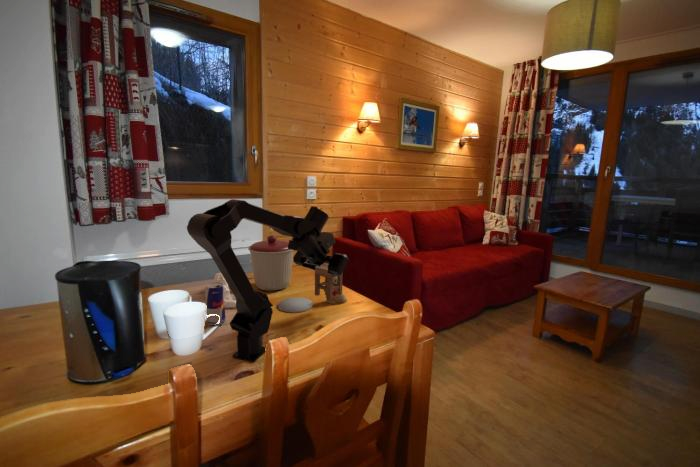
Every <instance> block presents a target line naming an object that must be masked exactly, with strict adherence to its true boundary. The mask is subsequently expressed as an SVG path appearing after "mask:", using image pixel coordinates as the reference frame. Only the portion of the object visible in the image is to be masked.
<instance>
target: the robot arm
mask: <svg viewBox="0 0 700 467" xmlns="http://www.w3.org/2000/svg"><path fill="white" fill-rule="evenodd" d="M329 219H330V217H329V215H328V213H326V212H325V211H323V210H322V209H320V208H318V206H314V205H312V206H311V207H310V208H309V210H308V212H307V214H306V215H305V217H303V216H296V215H295V216H294V215H290V214H289V215H288V214H280V213H277V212H274V211H272V210H269V209H265V208H263V207H260V206H258V205H254V204H251V203H250V202H247V201H246V200H242V199H233V198H232V199H229V200H227V201H225V202H224V203H223V204H220V205H218V206H214V207H212V208H210V209H208V210H206V211H205V212H204V211H203V213H201V212H200V213H197V214H194V215H192V216H191V217H190V219H189V220H188V223H187V225H186V230H187V233H188V234H189V236H190V237H191V238H192V240H193V241H194V242H195V243H196V244H197V245H198V246H200V247H201V248H202V249H203V250H204V251H206V252H207V253H208V254H209V255H210V256H211V258H212V260H213V261H214V263H215V265H216V266H217V269H218V270H219V272H221V274H222V275H223V277H224V279H225V280H226V282H227V284H228V287H229V290H230V292H232V294H234V296H235V297H236V308H235V309H236V313H235V314H234V316H233V318H231V321H230V322H229V326H230V328H231V330H233V331H236V333H237V335H236V341H237V343H236V345H237V346H236V348H237V350H236V352H234V353H233V354H232V358H233V359H239V360H244V361H247V362H256V361H257V360H258V359H260V357H261V356H262V355H263V354H265V353H266V351H265V347H266V346H263V345H264V344H263V336H264V335H265V334H267V333H268V331H269V330H270V324H271V321H272V317H273V316H272V315H273V314H274V313H273V312H274V311H273V308H272V307H273V305H274V304H272V303H271V302H270V299H269V297H268V294H266V293H265V292H262V291H258V290H256V289H255V288H254V287H253V285H252V283H251V281H250V279H249V278H248V276H247V273H246V272H245V270H244V267H243V266H242V264H241V263H240V261H239V259H238V257H237V255H236V253H235V252H234V249H233V247H232V240H233V239H232V237H233V235H232V233H231V232H232V231H234V230H235V229H236V228H237V227H238V226H239V225H240V223H241V222H242V220H245V221H249V222H250V221H251V222H252V223H256V224H260V225H263V226H266V227H268V228H269V227H270V228H271V229H272V230H273V231H274V232H276V233H278V234H279V235H282V236H287V237H292V238H291V239H290V240H288V242H289V244H288V249H291V250H293V251H296V252H295V254H294V255H293V261H292V263H294V265H296V266H300V267H303V268H306V269H308V270H309V269H310V270H312V271H315V267H316V266H319V267H320V266H321V265H323V264H326V263H327V264H329V265H328V272H327V273H329V274H332V275H335V276H336V277H337V276H338V277H340V275H341V274H342V272H344V270H345V269H346V266H347V265H348V262H349V261H350V259H349V257H348V255H347V254H344V253H339V252H336V253H334V254H333V255H332V256H331V255H329V253H330V252H331V250H330V248H331V247H332V246H333V245H335V244H336V239H335V235H334V233H332V232H328V231H327V232H326V231H323V229H324V227H325V225H326V224H327V222H328V220H329Z"/></svg>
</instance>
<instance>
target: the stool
mask: <svg viewBox="0 0 700 467" xmlns="http://www.w3.org/2000/svg"><path fill="white" fill-rule="evenodd" d="M328 265H329V264H327V263H324V264H323V265H321V266H320V267H319V266H316V267H315V270H314V296H317V297H318V296H320V295H321V290H323V291H324V290H325V291H327V299H329V300H330V299H332V290H335V289H337V294H338V295H341V294H342V292H343V274H344V273H343V272H344V271H343V272H342V274H341V275H340V277H338V276H336V277H337V283H335V282H333V278H334V277H335V275H332V274H329V273H327V272H328ZM321 277H324V281H323V282H321ZM333 285H334V286H333ZM327 299H326V300H327Z"/></svg>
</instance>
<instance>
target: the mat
mask: <svg viewBox="0 0 700 467" xmlns="http://www.w3.org/2000/svg"><path fill="white" fill-rule="evenodd" d="M313 305H314V302H313V301H312V300H311V299H308V298H305V297H289V298H284V299H282V300H280V301H279V302H278V304H277V308H278V309H279V310H280V311H282V312H285V313H290V314H291V313H294V314H297V313H298V314H299V313H303V312H306V311H309V310H312V308H313V307H314V306H313Z"/></svg>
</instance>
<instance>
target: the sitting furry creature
mask: <svg viewBox="0 0 700 467" xmlns="http://www.w3.org/2000/svg"><path fill="white" fill-rule="evenodd" d="M214 281H215V282H220V283H223V286H224V298H225V309H236V297H235V296H234V294H233V293H230V292H231V289H230V287H229V285H228V284H227V282H226V280H225V279H224V277H223V275H222V274H221V272H220V271H219V272H218V273H215V275H214Z"/></svg>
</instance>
